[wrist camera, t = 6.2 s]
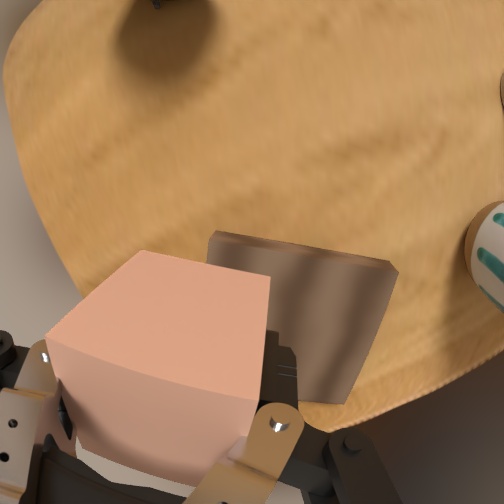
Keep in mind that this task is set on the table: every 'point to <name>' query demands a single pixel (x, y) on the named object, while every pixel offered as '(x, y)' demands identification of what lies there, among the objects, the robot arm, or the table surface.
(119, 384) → the pink block
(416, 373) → the table surface
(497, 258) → the vase
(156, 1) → the alarm clock
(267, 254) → the walnut base
